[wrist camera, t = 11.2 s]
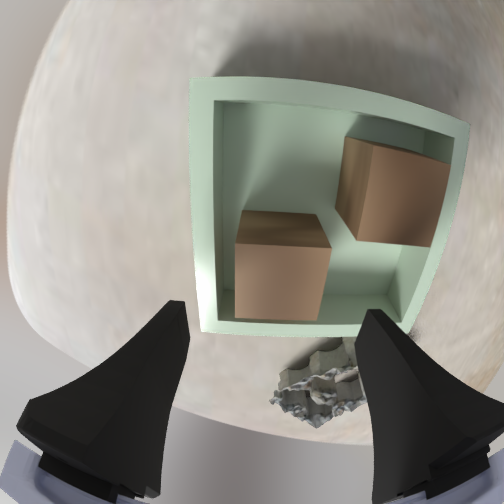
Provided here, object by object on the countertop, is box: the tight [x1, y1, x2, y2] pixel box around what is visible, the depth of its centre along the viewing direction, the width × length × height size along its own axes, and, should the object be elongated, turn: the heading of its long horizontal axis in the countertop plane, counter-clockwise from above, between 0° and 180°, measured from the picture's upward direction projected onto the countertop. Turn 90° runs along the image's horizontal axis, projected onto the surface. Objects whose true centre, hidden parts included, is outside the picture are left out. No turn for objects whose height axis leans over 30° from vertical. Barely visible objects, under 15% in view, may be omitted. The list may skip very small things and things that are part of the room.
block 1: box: [235, 210, 332, 320], centre depth 14 cm, size 4×4×4 cm
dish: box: [189, 76, 470, 337], centre depth 13 cm, size 13×13×4 cm
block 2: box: [335, 136, 451, 248], centre depth 12 cm, size 4×4×4 cm
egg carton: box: [269, 336, 367, 428], centre depth 20 cm, size 11×8×4 cm
